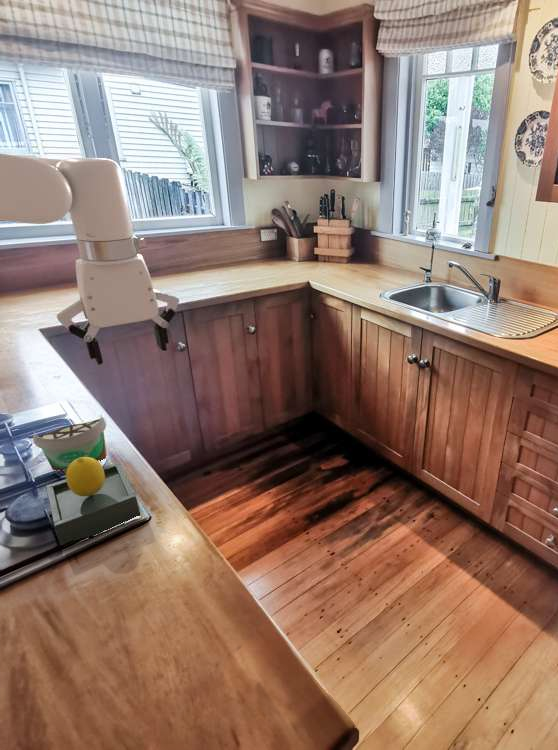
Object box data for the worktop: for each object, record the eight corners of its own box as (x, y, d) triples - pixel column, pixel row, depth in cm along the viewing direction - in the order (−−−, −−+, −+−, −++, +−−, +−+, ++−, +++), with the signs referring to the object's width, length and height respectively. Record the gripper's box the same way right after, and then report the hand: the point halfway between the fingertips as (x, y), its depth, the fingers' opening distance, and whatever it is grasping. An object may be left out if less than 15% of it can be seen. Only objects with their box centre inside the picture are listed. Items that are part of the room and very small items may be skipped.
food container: (48, 492, 87) (32, 448, 83) (45, 474, 92) (30, 432, 87) (120, 469, 94) (109, 427, 90) (114, 454, 98) (103, 413, 94)
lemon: (97, 481, 85) (86, 444, 81) (115, 492, 82) (105, 455, 79) (66, 498, 80) (53, 460, 77) (84, 510, 78) (72, 472, 74)
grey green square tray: (62, 549, 76) (54, 526, 73) (53, 507, 84) (45, 485, 82) (141, 518, 82) (136, 496, 80) (125, 482, 91) (120, 461, 88)
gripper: (162, 240, 76) (178, 336, 84) (36, 250, 67) (67, 358, 74) (176, 248, 71) (192, 350, 79) (42, 261, 61) (75, 376, 69)
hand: (131, 354), depth 77 cm, fingers open, 9 cm apart
